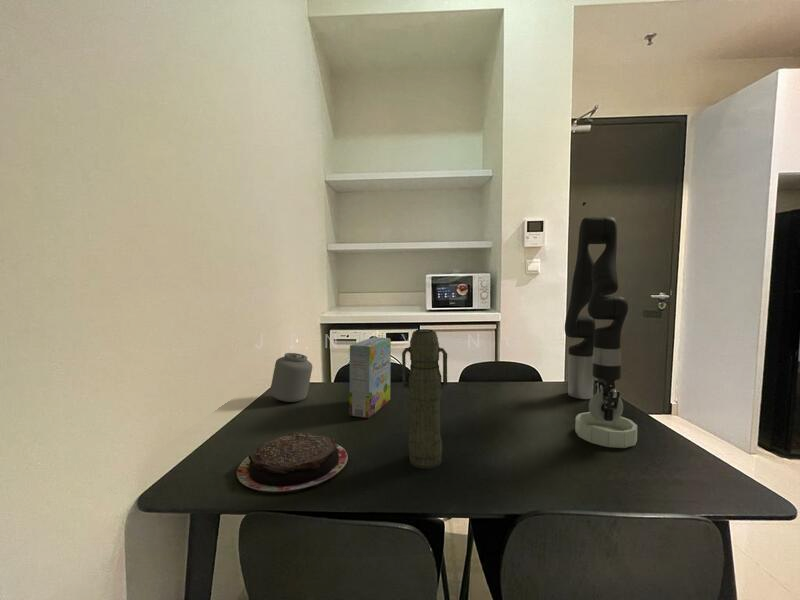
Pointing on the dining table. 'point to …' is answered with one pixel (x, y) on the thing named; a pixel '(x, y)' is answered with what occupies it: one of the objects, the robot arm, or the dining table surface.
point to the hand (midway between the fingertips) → (605, 417)
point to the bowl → (606, 431)
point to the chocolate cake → (292, 463)
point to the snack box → (369, 376)
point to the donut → (598, 413)
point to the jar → (291, 377)
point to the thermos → (424, 398)
